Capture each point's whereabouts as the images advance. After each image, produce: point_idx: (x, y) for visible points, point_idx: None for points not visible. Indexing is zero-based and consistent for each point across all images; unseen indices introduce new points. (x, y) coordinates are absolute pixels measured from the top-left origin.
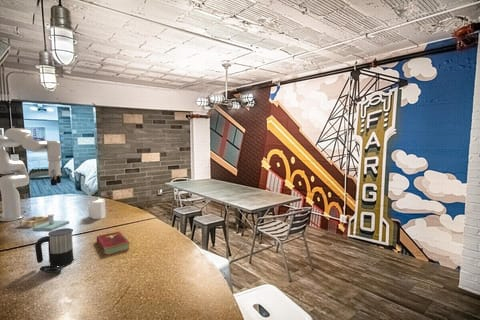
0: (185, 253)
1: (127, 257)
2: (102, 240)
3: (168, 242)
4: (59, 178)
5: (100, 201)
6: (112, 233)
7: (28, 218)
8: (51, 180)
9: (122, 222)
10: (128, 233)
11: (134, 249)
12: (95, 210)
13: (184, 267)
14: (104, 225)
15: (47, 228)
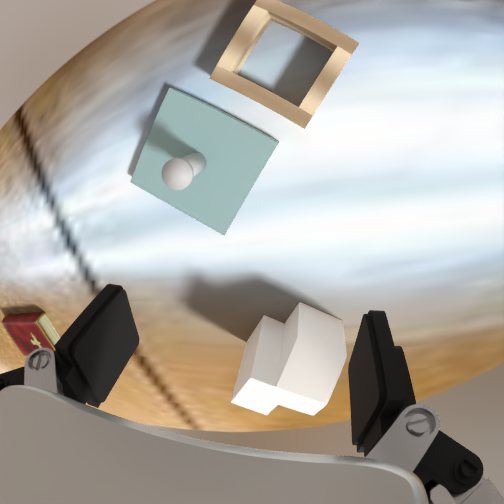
0: None
1: None
2: (21, 326)
3: None
4: (355, 426)
5: (252, 403)
6: (50, 347)
7: (312, 20)
8: (68, 344)
9: (175, 380)
10: None
11: None
12: (250, 354)
13: (9, 369)
14: (155, 342)
15: (137, 163)
